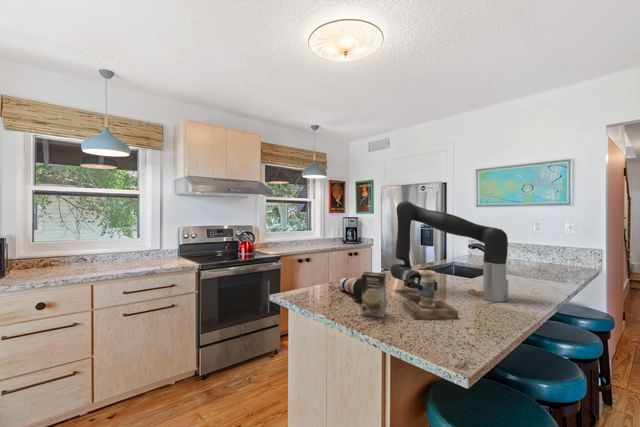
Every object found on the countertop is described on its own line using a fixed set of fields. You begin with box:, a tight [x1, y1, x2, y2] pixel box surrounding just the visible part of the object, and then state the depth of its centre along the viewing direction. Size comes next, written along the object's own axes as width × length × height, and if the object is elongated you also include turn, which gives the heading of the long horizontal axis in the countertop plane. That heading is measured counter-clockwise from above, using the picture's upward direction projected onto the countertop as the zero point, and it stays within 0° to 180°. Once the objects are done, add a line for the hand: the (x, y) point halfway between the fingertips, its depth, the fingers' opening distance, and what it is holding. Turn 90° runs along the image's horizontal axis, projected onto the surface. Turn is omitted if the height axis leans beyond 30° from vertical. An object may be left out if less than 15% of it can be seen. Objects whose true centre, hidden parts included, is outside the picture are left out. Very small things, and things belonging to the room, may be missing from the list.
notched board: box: [402, 300, 459, 320], centre depth 121 cm, size 17×13×3 cm
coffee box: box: [360, 271, 387, 318], centre depth 120 cm, size 9×6×16 cm
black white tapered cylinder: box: [337, 277, 362, 301], centre depth 146 cm, size 10×34×10 cm, turn 22°
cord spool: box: [418, 269, 436, 309], centre depth 122 cm, size 6×6×14 cm
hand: (428, 288), depth 120 cm, fingers closed on cord spool, 5 cm apart
